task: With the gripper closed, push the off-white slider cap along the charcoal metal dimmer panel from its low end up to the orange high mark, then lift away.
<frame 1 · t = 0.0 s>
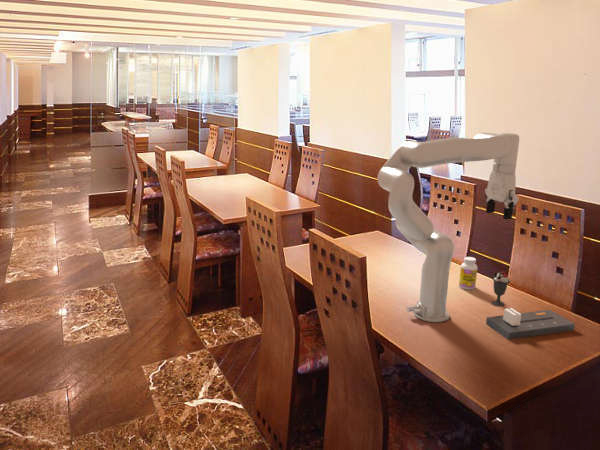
hand: (498, 215, 179), 37 cm above the table, tool pointing down, fingers open, 9 cm apart
sundae: (498, 304, 193), on the table
dimmer panel: (529, 327, 174), on the table
fader: (512, 316, 171), point 5 cm above the table, slide at 0.0 cm
supplement bottle: (466, 287, 210), on the table
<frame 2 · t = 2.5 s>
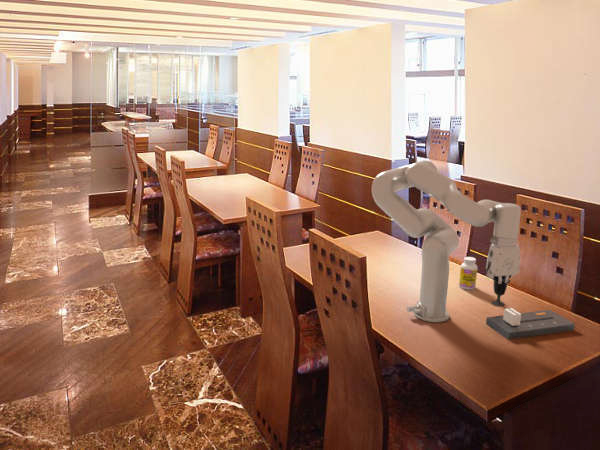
hand: (499, 293, 166), 15 cm above the table, tool pointing down, fingers closed
nothing on the table moved.
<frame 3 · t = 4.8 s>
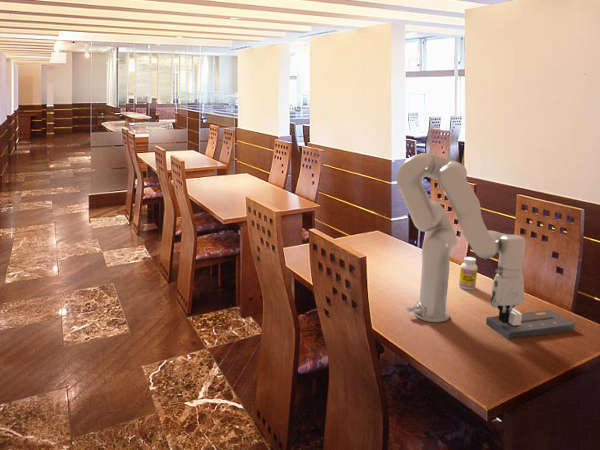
hand: (503, 321, 170), 4 cm above the table, tool pointing down, fingers closed
fader: (512, 316, 171), point 5 cm above the table, slide at 0.4 cm, touching gripper
everything else where it was.
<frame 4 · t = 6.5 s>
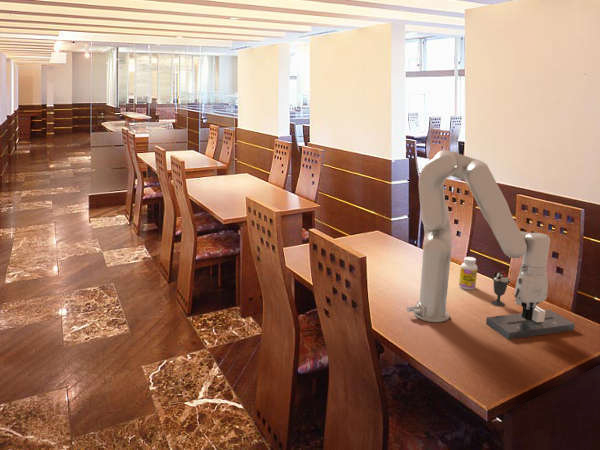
hand: (526, 318, 173), 4 cm above the table, tool pointing down, fingers closed
fader: (536, 313, 173), point 5 cm above the table, slide at 10.0 cm, touching gripper
everything else where it was.
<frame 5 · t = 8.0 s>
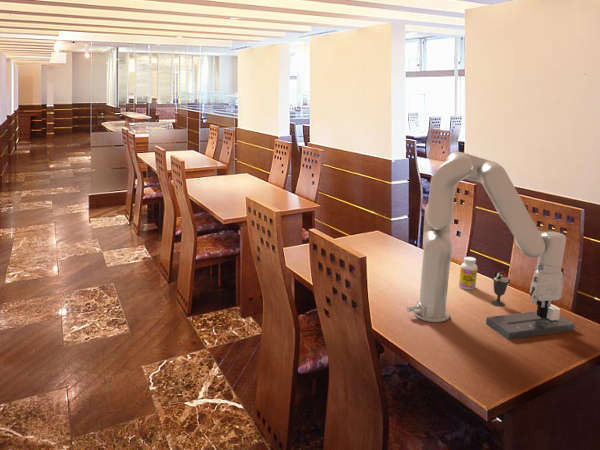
hand: (541, 316, 174), 4 cm above the table, tool pointing down, fingers closed
fader: (550, 311, 175), point 5 cm above the table, slide at 16.2 cm, touching gripper
everything else where it was.
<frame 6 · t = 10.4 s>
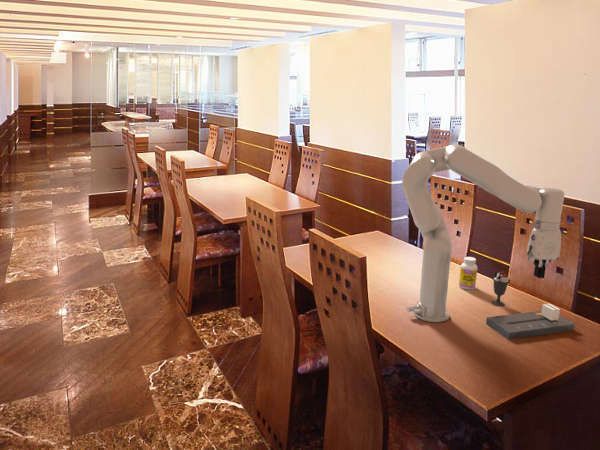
hand: (538, 276, 170), 19 cm above the table, tool pointing down, fingers closed
fader: (550, 311, 175), point 5 cm above the table, slide at 16.0 cm
everything else where it was.
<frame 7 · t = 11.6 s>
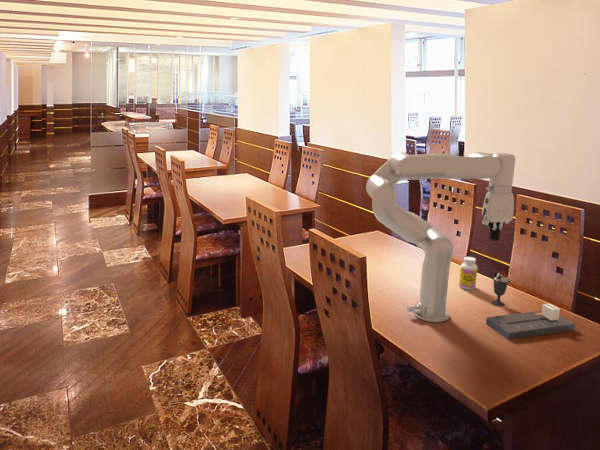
hand: (493, 239, 176), 29 cm above the table, tool pointing down, fingers closed
nothing on the table moved.
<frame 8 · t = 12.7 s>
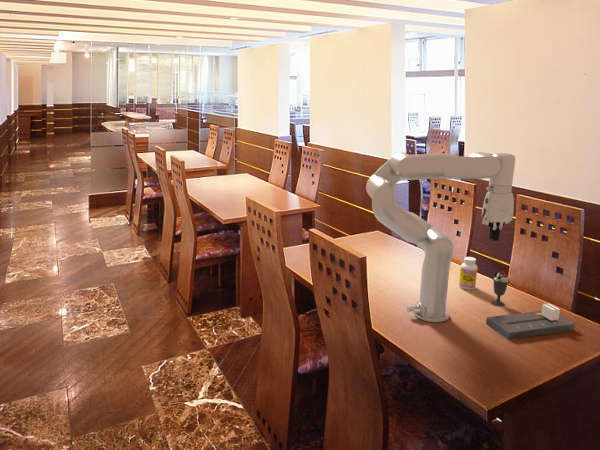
hand: (493, 239, 176), 29 cm above the table, tool pointing down, fingers closed
nothing on the table moved.
at the end: fader slide at 16.0 cm; sundae moved 0.2 cm from its start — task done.
